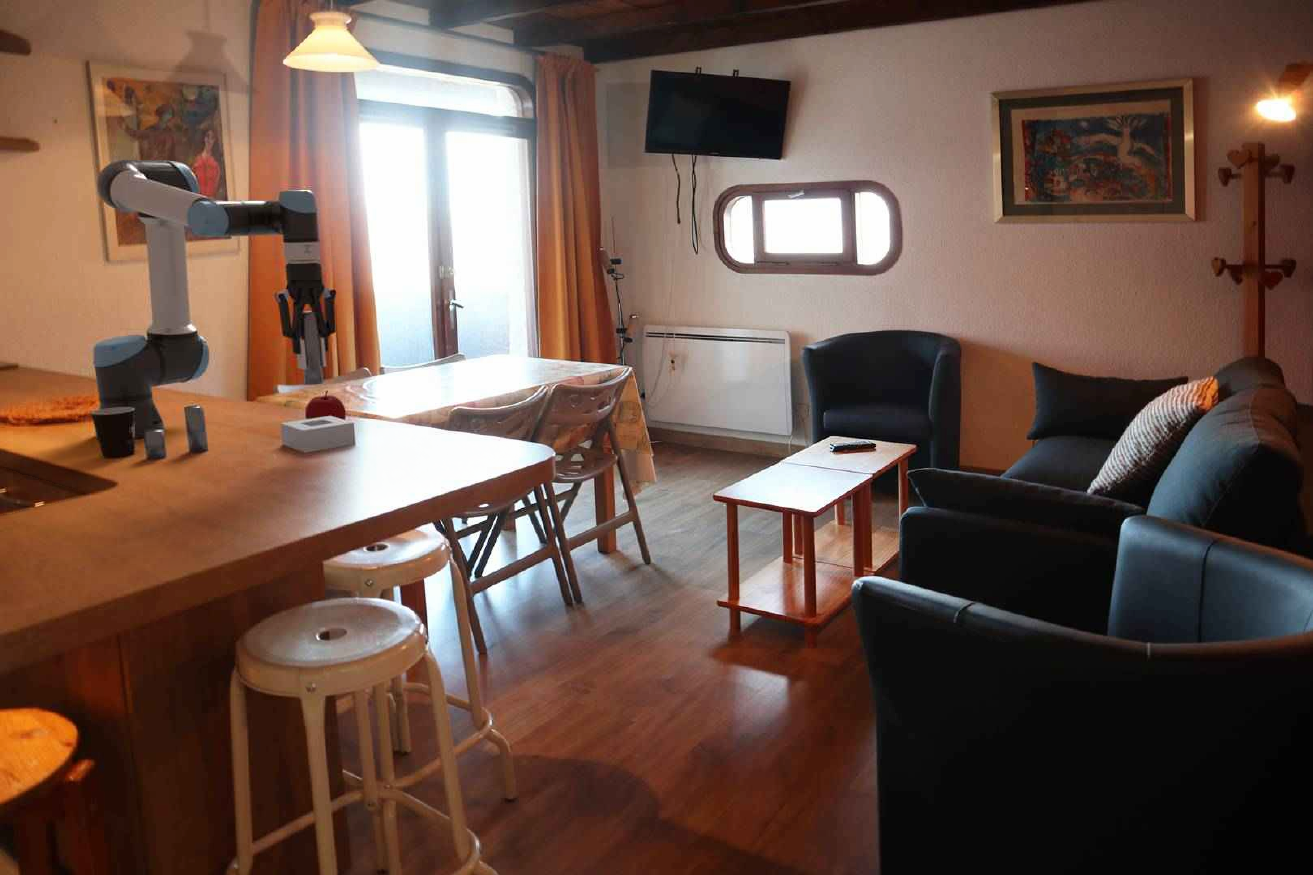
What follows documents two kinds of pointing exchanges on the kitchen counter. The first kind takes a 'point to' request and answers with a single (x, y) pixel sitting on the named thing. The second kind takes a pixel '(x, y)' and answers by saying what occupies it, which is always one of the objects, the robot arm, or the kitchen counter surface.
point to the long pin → (311, 348)
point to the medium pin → (196, 429)
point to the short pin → (155, 444)
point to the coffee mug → (115, 431)
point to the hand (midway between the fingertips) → (312, 367)
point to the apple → (325, 407)
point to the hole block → (318, 433)
